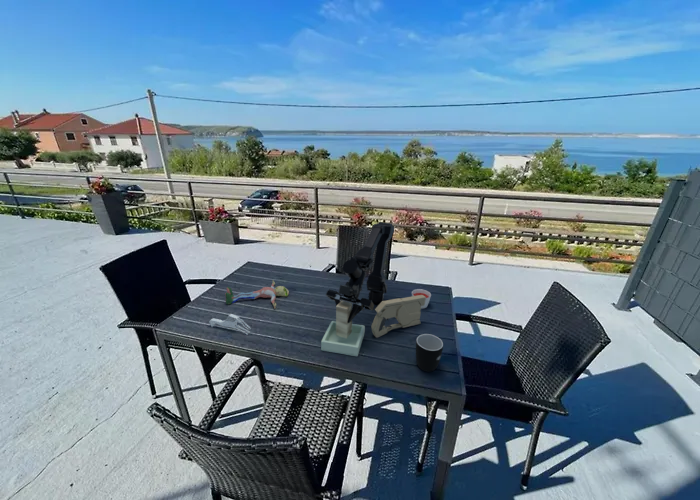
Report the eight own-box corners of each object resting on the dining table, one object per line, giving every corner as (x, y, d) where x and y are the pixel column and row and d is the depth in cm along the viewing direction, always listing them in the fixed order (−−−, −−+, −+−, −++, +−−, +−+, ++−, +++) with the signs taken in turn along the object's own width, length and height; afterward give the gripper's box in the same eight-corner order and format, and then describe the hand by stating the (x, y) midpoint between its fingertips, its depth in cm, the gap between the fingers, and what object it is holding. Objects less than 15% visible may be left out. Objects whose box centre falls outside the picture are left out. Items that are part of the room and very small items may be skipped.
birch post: (341, 329, 118) (341, 300, 114) (351, 332, 117) (352, 303, 112) (336, 335, 115) (336, 306, 110) (346, 338, 113) (346, 309, 108)
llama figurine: (246, 343, 124) (211, 322, 126) (252, 324, 120) (216, 302, 122) (243, 346, 123) (207, 325, 125) (250, 327, 118) (212, 305, 120)
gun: (373, 339, 118) (378, 306, 114) (369, 334, 121) (373, 302, 117) (420, 328, 130) (426, 297, 125) (415, 324, 133) (421, 293, 128)
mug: (437, 378, 100) (441, 353, 96) (411, 369, 103) (413, 345, 100) (442, 356, 110) (446, 333, 106) (418, 349, 113) (421, 326, 110)
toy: (227, 277, 155) (286, 271, 162) (230, 289, 157) (287, 282, 164) (220, 304, 129) (290, 295, 137) (223, 318, 132) (291, 309, 139)
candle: (409, 299, 148) (410, 288, 146) (428, 301, 148) (429, 289, 145) (411, 309, 140) (412, 297, 138) (430, 310, 139) (432, 298, 137)
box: (364, 333, 122) (364, 325, 120) (357, 356, 109) (357, 347, 108) (331, 328, 125) (331, 320, 123) (321, 350, 112) (321, 341, 110)
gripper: (327, 270, 115) (312, 309, 109) (372, 280, 107) (359, 322, 102) (337, 280, 124) (324, 316, 119) (379, 290, 116) (367, 329, 111)
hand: (342, 321), depth 112 cm, fingers closed on birch post, 4 cm apart
